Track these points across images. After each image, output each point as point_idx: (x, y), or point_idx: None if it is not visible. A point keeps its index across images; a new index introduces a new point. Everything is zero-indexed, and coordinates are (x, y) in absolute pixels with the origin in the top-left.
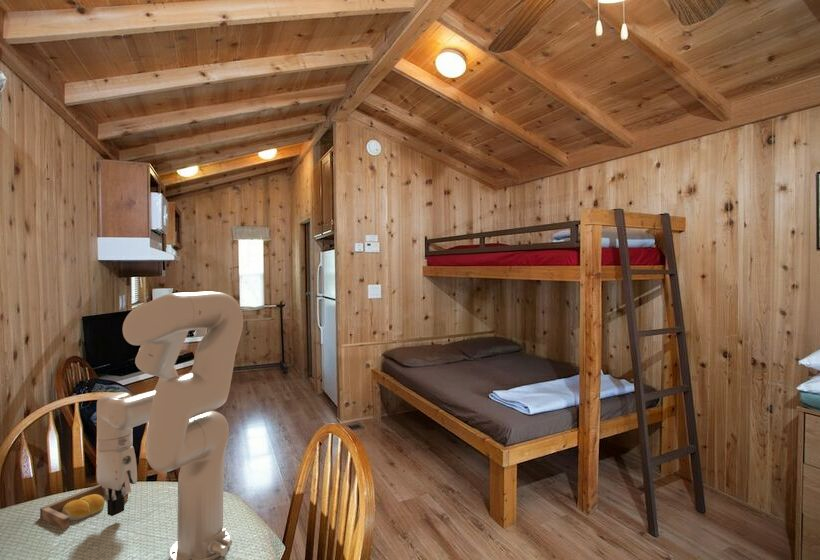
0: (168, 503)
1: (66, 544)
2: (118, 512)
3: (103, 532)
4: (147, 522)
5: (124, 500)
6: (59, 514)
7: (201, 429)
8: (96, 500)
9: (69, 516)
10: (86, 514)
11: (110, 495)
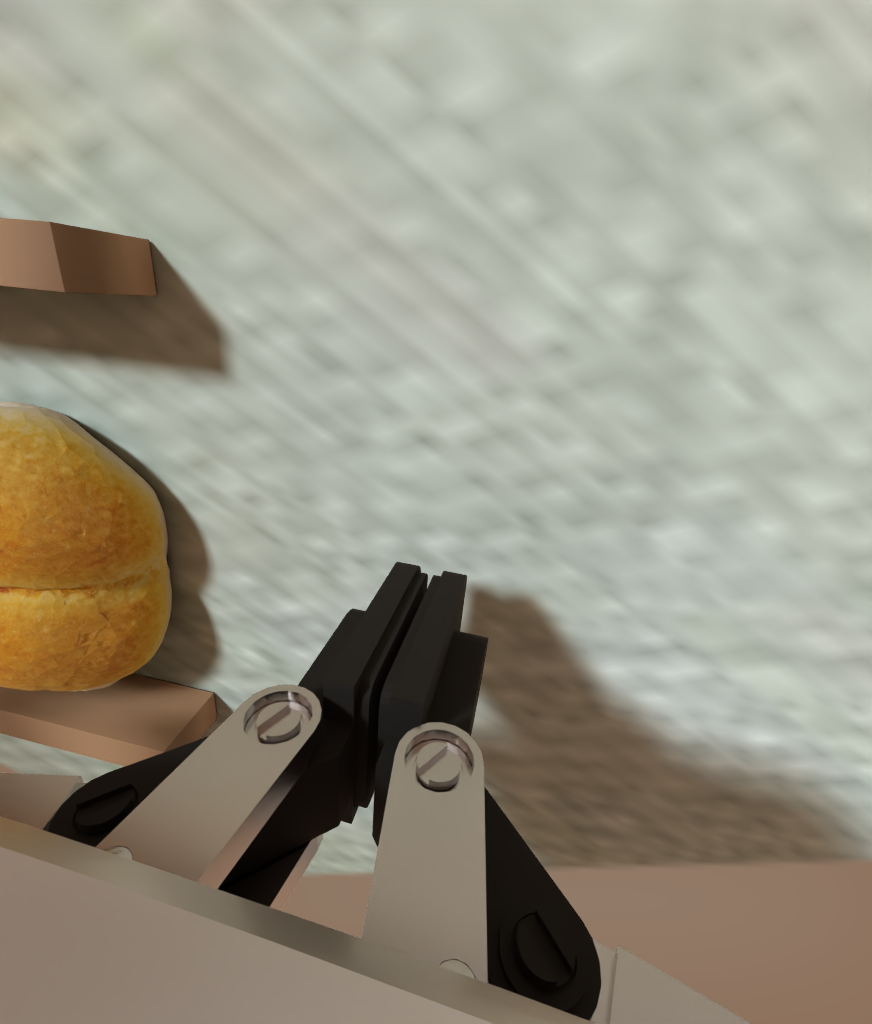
0: (748, 32)
1: None
2: (458, 626)
3: (502, 702)
4: (791, 513)
5: (148, 285)
6: (70, 738)
7: None
8: (47, 546)
9: (116, 681)
10: (164, 608)
11: (311, 843)
